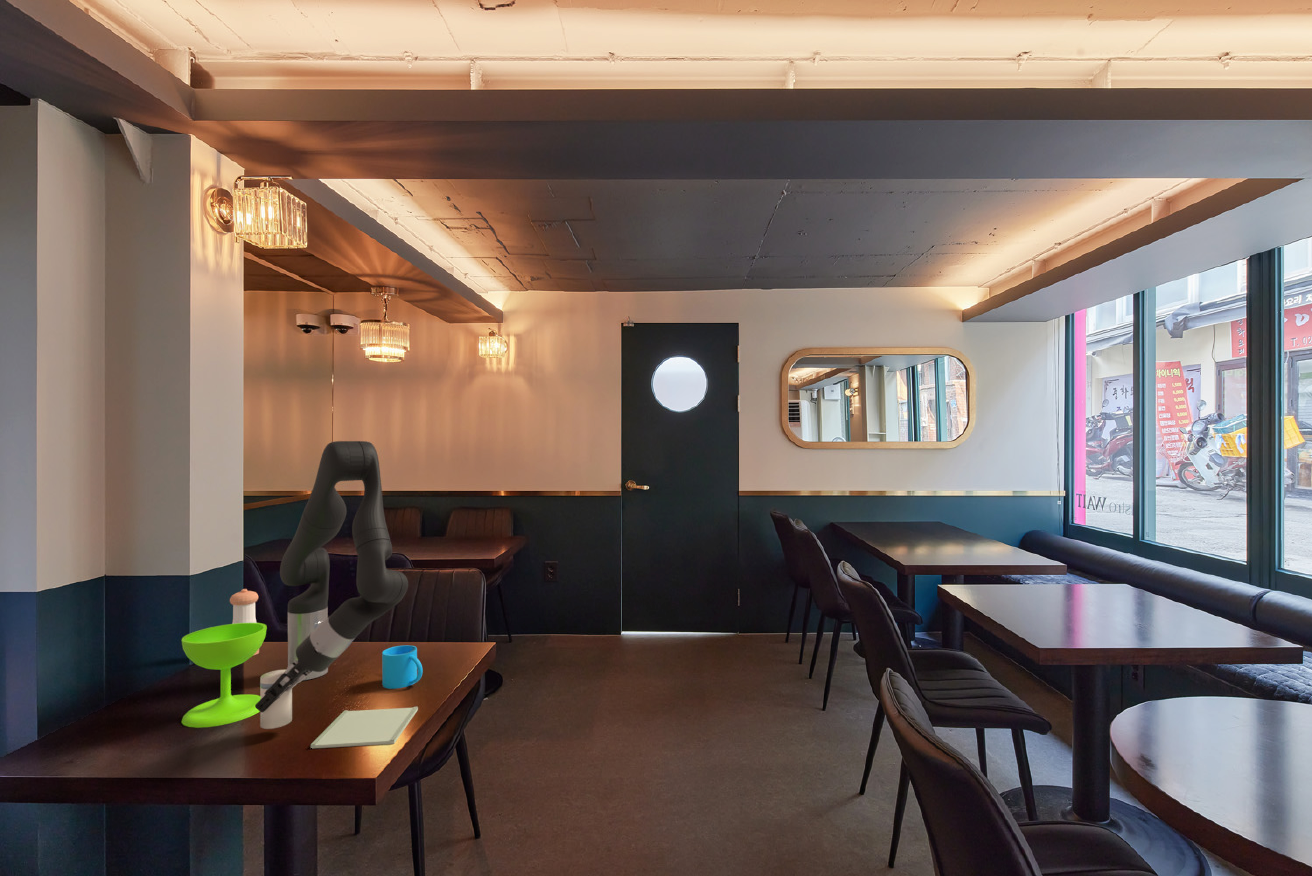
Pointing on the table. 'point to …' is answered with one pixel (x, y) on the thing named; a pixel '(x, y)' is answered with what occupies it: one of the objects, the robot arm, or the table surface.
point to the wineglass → (223, 670)
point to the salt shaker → (244, 607)
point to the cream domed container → (275, 703)
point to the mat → (365, 728)
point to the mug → (400, 667)
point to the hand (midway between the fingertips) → (267, 702)
